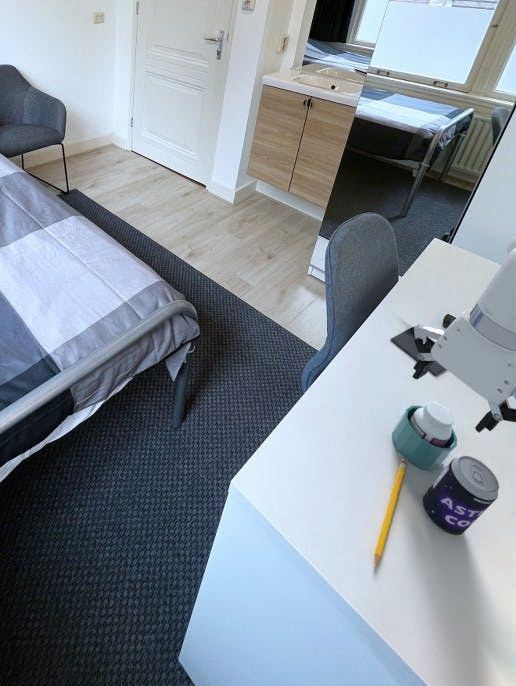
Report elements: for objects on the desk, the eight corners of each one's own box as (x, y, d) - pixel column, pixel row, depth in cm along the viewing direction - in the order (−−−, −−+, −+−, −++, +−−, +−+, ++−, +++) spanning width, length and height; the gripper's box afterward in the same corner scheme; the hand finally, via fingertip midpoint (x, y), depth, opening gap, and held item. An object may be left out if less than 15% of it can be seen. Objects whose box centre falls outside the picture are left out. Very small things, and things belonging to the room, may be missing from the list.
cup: (450, 458, 73) (466, 438, 71) (425, 478, 70) (441, 458, 67) (407, 419, 79) (420, 399, 76) (383, 436, 76) (395, 416, 73)
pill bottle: (434, 443, 75) (459, 410, 71) (434, 469, 71) (460, 435, 67) (400, 424, 78) (422, 391, 73) (398, 449, 74) (421, 415, 69)
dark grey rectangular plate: (470, 353, 94) (470, 351, 94) (435, 375, 88) (436, 374, 88) (425, 320, 102) (425, 319, 102) (390, 339, 96) (390, 338, 96)
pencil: (406, 464, 72) (407, 462, 71) (376, 570, 59) (378, 568, 58) (400, 461, 72) (402, 458, 72) (370, 565, 59) (372, 563, 59)
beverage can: (419, 520, 65) (455, 478, 59) (420, 486, 69) (453, 444, 63) (464, 547, 62) (505, 506, 56) (461, 510, 66) (500, 469, 61)
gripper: (591, 364, 55) (522, 440, 63) (452, 279, 69) (409, 351, 77) (568, 385, 52) (497, 462, 60) (426, 292, 65) (384, 365, 73)
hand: (448, 400), depth 68 cm, fingers open, 9 cm apart
